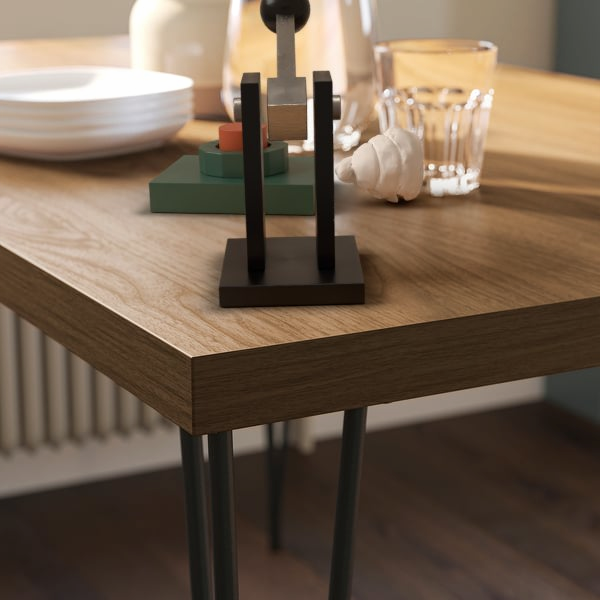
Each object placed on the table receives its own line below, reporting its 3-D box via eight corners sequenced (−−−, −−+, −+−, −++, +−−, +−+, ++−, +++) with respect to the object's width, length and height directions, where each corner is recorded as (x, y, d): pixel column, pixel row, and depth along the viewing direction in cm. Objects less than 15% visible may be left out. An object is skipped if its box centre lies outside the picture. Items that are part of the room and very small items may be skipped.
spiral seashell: (327, 197, 89) (326, 125, 87) (403, 191, 90) (404, 120, 88) (345, 214, 84) (344, 138, 82) (426, 208, 85) (426, 133, 83)
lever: (260, 19, 76) (258, -26, 74) (310, 18, 76) (309, -27, 74) (259, 147, 66) (257, 99, 64) (316, 146, 66) (316, 98, 64)
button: (271, 145, 89) (270, 122, 89) (262, 154, 86) (261, 130, 86) (225, 144, 90) (224, 122, 89) (214, 154, 87) (213, 130, 86)
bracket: (228, 256, 74) (219, 67, 70) (354, 253, 74) (353, 63, 70) (219, 307, 65) (209, 91, 61) (365, 303, 65) (363, 87, 61)
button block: (332, 183, 93) (332, 133, 92) (313, 215, 84) (312, 159, 82) (185, 181, 95) (182, 132, 94) (150, 212, 85) (146, 158, 84)
